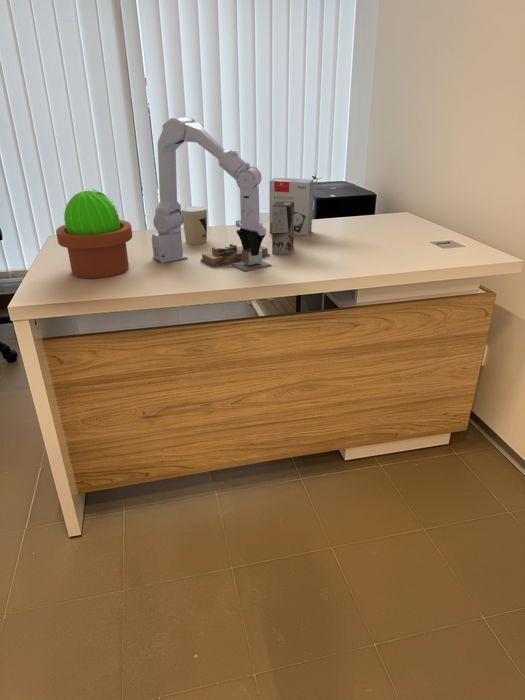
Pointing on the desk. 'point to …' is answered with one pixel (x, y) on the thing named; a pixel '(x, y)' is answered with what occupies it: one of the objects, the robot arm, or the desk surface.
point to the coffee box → (282, 227)
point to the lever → (227, 249)
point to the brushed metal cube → (251, 257)
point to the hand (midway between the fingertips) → (251, 253)
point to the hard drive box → (300, 195)
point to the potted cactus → (94, 236)
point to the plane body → (226, 256)
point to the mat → (250, 266)
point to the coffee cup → (195, 224)
